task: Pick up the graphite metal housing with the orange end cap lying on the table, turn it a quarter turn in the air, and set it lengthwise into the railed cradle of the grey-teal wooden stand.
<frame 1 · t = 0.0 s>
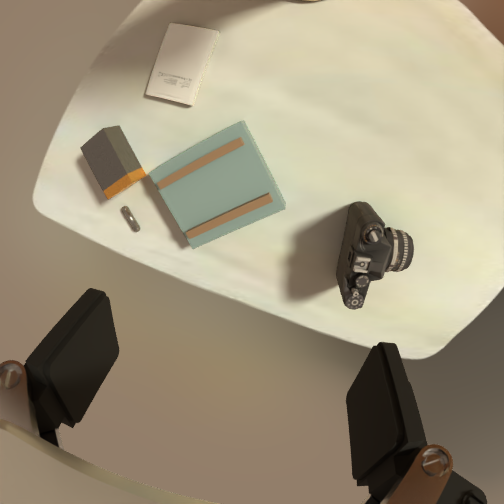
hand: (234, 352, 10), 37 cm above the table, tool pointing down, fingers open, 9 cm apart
camera: (369, 243, 47), on the table
housing: (120, 158, 45), on the table
external hard drive: (183, 63, 38), on the table
stand: (218, 184, 45), on the table
grey metal rounded bar: (132, 217, 50), on the table
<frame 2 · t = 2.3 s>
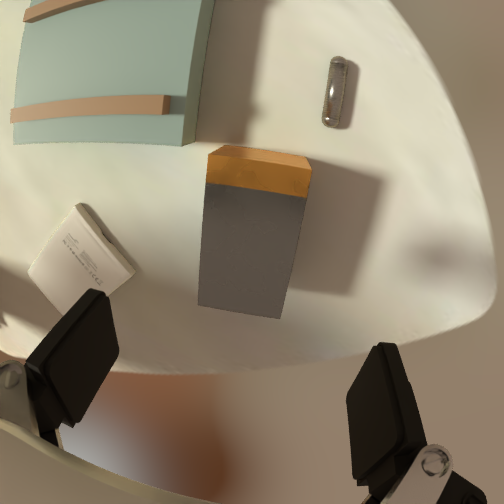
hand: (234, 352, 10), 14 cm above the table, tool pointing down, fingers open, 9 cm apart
housing: (255, 217, 22), on the table
external hard drive: (79, 266, 27), on the table
stand: (108, 53, 17), on the table
grey metal rounded bar: (333, 91, 18), on the table
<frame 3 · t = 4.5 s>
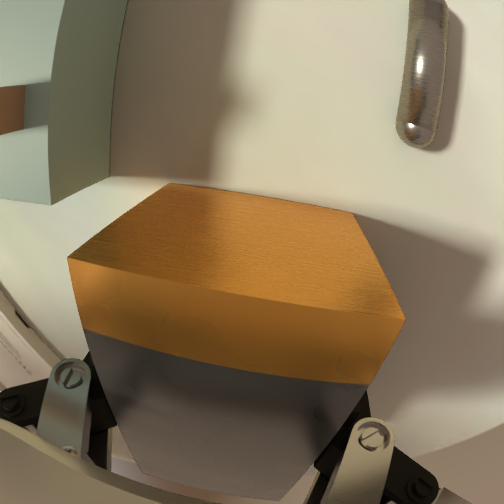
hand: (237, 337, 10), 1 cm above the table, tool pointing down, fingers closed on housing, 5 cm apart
housing: (240, 326, 11), on the table, touching gripper
external hard drive: (10, 339, 16), on the table
grey metal rounded bar: (417, 65, 6), on the table
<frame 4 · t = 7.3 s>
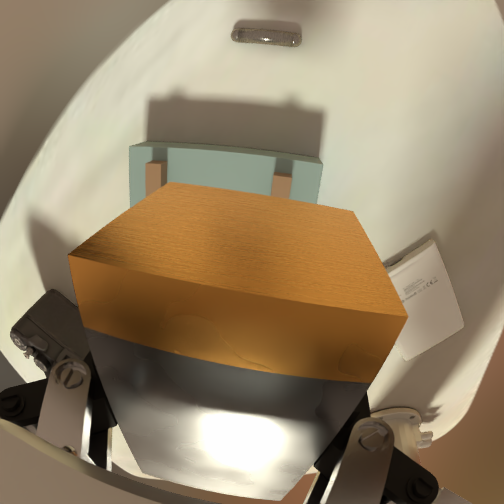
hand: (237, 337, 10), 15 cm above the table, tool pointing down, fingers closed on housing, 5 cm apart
camera: (85, 335, 35), on the table
housing: (241, 325, 11), point 15 cm above the table, touching gripper
external hard drive: (415, 300, 27), on the table
stand: (221, 239, 26), on the table
grey metal rounded bar: (266, 38, 18), on the table
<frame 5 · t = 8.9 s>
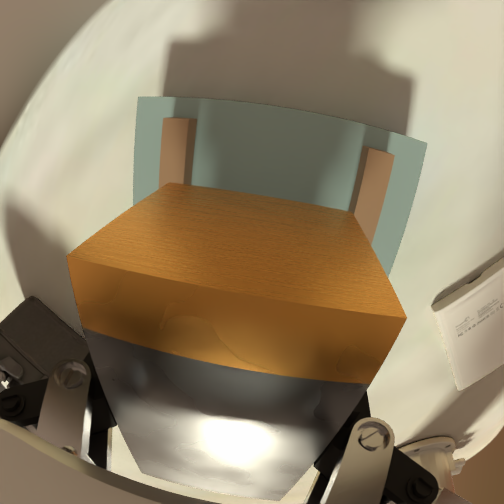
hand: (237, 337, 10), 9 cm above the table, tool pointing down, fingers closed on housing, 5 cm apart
camera: (72, 353, 27), on the table
housing: (240, 326, 11), point 8 cm above the table, touching gripper
external hard drive: (480, 323, 20), on the table
stand: (263, 243, 18), on the table
when the fingers open (5 cm above the table, at t = 10.4 s): housing drops 1 cm, resting on stand.
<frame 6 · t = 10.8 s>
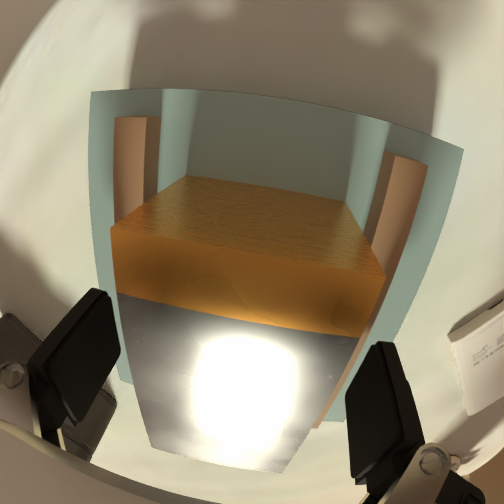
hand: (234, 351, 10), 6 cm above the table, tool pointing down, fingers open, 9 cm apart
camera: (54, 372, 24), on the table
housing: (246, 305, 12), point 3 cm above the table, touching stand
external hard drive: (496, 347, 17), on the table
stand: (253, 268, 15), on the table
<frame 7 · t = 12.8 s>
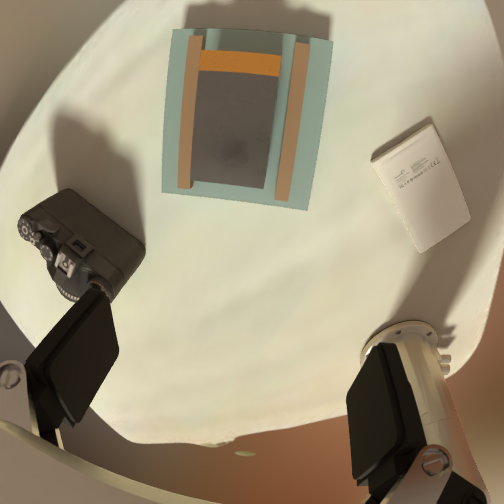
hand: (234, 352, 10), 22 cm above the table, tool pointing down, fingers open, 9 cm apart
camera: (94, 240, 35), on the table
housing: (241, 115, 24), point 3 cm above the table, touching stand
external hard drive: (422, 188, 29), on the table
stand: (244, 113, 26), on the table
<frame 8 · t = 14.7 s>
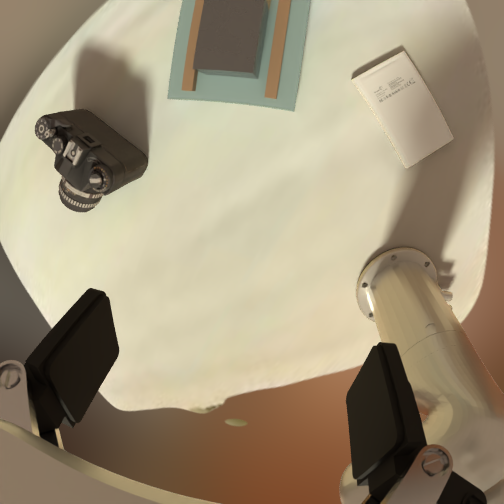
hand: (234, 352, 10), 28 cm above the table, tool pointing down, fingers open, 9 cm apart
camera: (101, 158, 36), on the table
housing: (238, 35, 25), point 3 cm above the table, touching stand
external hard drive: (403, 108, 30), on the table
stand: (242, 40, 28), on the table
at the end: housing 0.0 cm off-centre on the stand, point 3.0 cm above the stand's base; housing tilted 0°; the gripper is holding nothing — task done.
